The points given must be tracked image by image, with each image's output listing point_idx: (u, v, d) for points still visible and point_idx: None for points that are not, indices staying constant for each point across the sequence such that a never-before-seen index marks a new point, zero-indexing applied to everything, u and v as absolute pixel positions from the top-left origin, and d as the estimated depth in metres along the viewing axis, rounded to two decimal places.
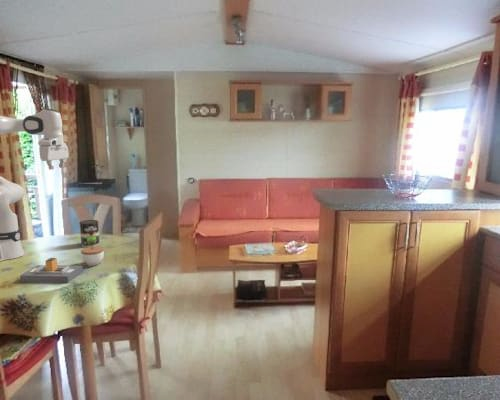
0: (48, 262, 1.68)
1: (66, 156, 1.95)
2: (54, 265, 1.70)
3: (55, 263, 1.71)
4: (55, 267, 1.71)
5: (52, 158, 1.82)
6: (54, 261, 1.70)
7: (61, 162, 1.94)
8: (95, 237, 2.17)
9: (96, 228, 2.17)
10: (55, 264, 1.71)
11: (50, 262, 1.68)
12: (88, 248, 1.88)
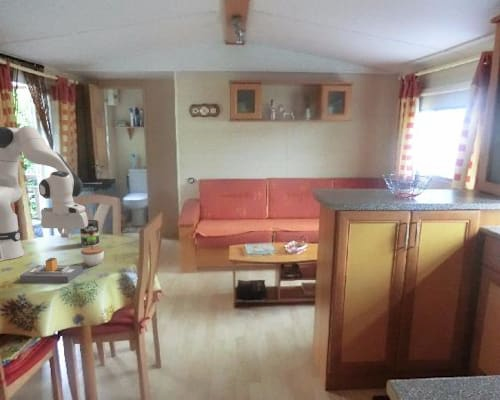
0: (48, 262, 1.68)
1: None
2: (54, 265, 1.70)
3: (55, 263, 1.71)
4: (55, 267, 1.71)
5: None
6: (54, 261, 1.70)
7: (61, 231, 1.67)
8: (95, 237, 2.17)
9: (96, 228, 2.17)
10: (55, 264, 1.71)
11: (50, 262, 1.68)
12: (88, 248, 1.88)
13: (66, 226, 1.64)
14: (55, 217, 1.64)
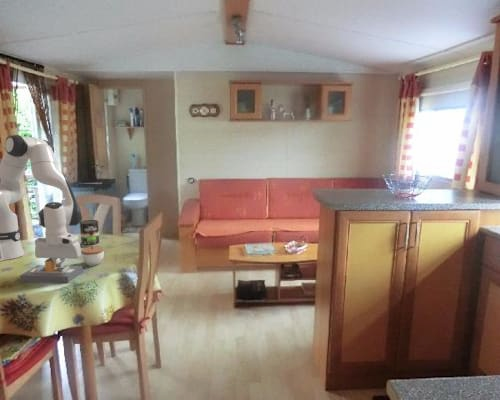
0: (48, 262, 1.68)
1: None
2: (53, 265, 1.70)
3: (54, 263, 1.71)
4: (55, 267, 1.71)
5: None
6: None
7: (56, 261, 1.69)
8: (95, 237, 2.17)
9: (96, 228, 2.17)
10: (54, 264, 1.71)
11: (49, 262, 1.68)
12: (88, 248, 1.88)
13: (59, 256, 1.67)
14: (49, 247, 1.67)
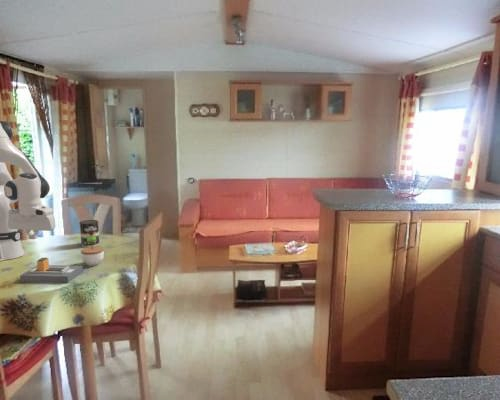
0: (39, 262, 1.68)
1: None
2: (46, 265, 1.70)
3: (47, 263, 1.71)
4: (47, 267, 1.71)
5: None
6: (45, 261, 1.70)
7: (29, 233, 1.68)
8: (95, 237, 2.17)
9: (96, 228, 2.17)
10: (47, 264, 1.71)
11: (41, 262, 1.68)
12: (88, 248, 1.88)
13: (33, 228, 1.66)
14: (22, 218, 1.65)
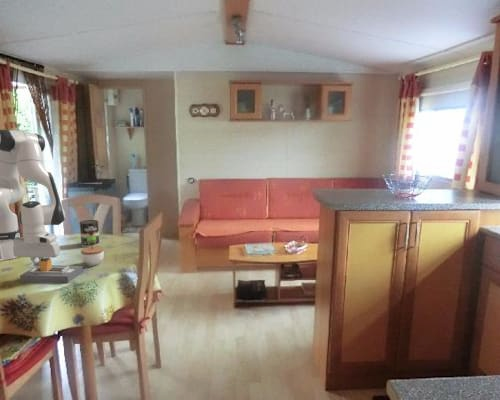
0: (42, 262, 1.68)
1: None
2: (48, 265, 1.70)
3: (49, 263, 1.71)
4: (49, 267, 1.71)
5: None
6: (48, 261, 1.70)
7: (34, 260, 1.70)
8: (95, 237, 2.17)
9: (96, 228, 2.17)
10: (49, 264, 1.71)
11: (44, 262, 1.68)
12: (88, 248, 1.88)
13: (37, 255, 1.67)
14: (27, 246, 1.67)
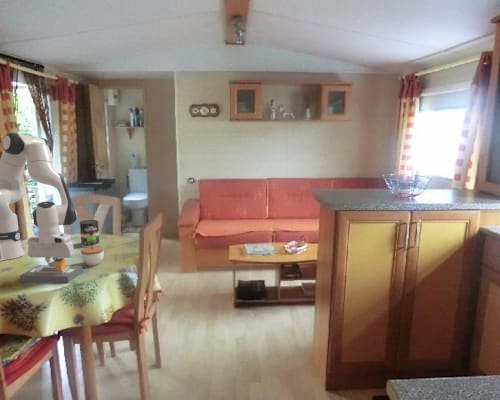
0: (57, 262, 1.68)
1: None
2: (63, 265, 1.70)
3: (64, 263, 1.70)
4: (64, 267, 1.70)
5: None
6: (63, 261, 1.69)
7: (49, 260, 1.69)
8: (95, 237, 2.17)
9: (96, 228, 2.17)
10: (64, 264, 1.70)
11: (59, 262, 1.67)
12: (88, 248, 1.88)
13: (52, 255, 1.67)
14: (42, 246, 1.67)
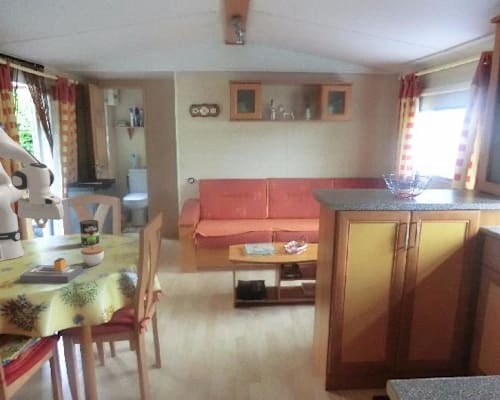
0: (57, 262, 1.68)
1: None
2: (63, 265, 1.70)
3: (63, 263, 1.70)
4: (64, 267, 1.70)
5: None
6: (63, 261, 1.69)
7: (38, 222, 1.71)
8: (95, 237, 2.17)
9: (96, 228, 2.17)
10: (63, 264, 1.70)
11: (59, 262, 1.67)
12: (88, 248, 1.88)
13: (42, 217, 1.68)
14: (32, 207, 1.68)
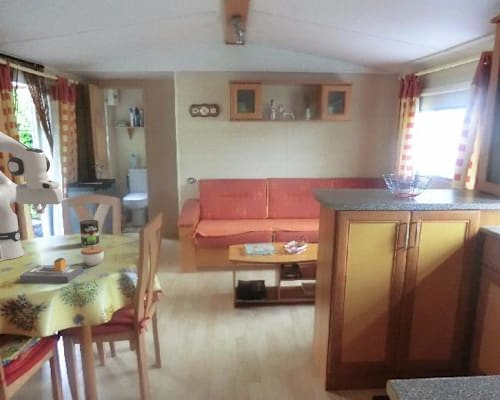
0: (57, 262, 1.68)
1: None
2: (63, 265, 1.70)
3: (63, 263, 1.70)
4: (64, 267, 1.70)
5: None
6: (63, 261, 1.69)
7: (37, 207, 1.70)
8: (95, 237, 2.17)
9: (96, 228, 2.17)
10: (63, 264, 1.70)
11: (59, 262, 1.67)
12: (88, 248, 1.88)
13: (40, 202, 1.68)
14: (30, 193, 1.68)
